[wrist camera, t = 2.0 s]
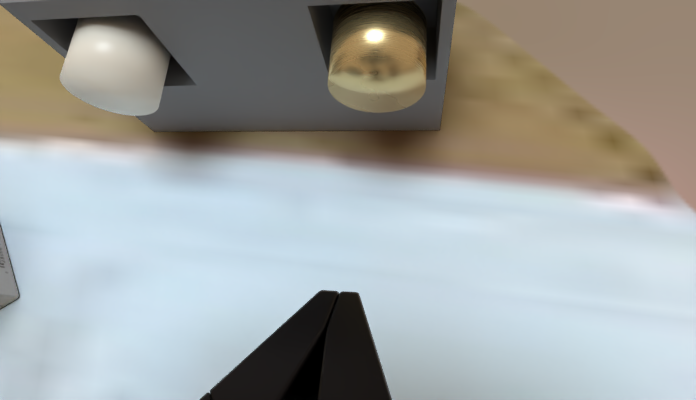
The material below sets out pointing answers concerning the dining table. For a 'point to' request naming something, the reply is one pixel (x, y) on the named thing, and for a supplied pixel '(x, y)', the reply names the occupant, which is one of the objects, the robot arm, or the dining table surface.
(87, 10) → the console
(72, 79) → the cream button
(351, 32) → the brass button
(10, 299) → the coffee box
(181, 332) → the dining table surface
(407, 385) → the dining table surface
